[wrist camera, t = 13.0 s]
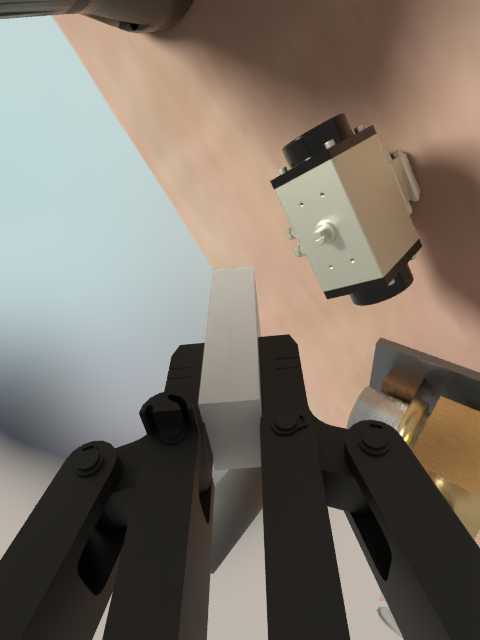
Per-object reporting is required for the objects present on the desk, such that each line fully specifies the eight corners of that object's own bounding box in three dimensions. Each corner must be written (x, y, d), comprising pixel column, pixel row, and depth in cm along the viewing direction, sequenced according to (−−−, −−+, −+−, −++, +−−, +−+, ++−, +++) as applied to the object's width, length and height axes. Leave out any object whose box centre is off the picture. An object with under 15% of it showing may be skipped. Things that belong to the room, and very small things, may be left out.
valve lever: (460, 529, 28) (395, 709, 21) (448, 556, 31) (385, 727, 24) (261, 420, 37) (170, 522, 30) (263, 448, 40) (179, 549, 33)
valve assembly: (370, 399, 47) (309, 488, 39) (380, 337, 41) (312, 425, 33) (588, 497, 36) (568, 647, 28) (640, 430, 31) (633, 592, 23)
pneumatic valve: (393, 90, 29) (305, 128, 22) (450, 238, 32) (389, 315, 25) (330, 128, 34) (240, 170, 26) (386, 256, 36) (317, 326, 29)
